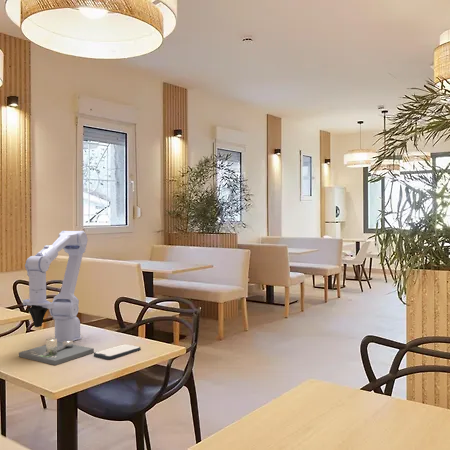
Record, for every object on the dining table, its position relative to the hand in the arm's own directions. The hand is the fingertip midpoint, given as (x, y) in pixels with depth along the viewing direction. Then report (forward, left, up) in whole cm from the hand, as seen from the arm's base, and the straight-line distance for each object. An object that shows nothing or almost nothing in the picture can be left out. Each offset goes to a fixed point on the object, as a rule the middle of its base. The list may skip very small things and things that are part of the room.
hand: (38, 326), depth 176 cm
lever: (-1, +9, -8) cm, 12 cm away
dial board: (-1, +8, -9) cm, 12 cm away
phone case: (-14, +25, -10) cm, 31 cm away
